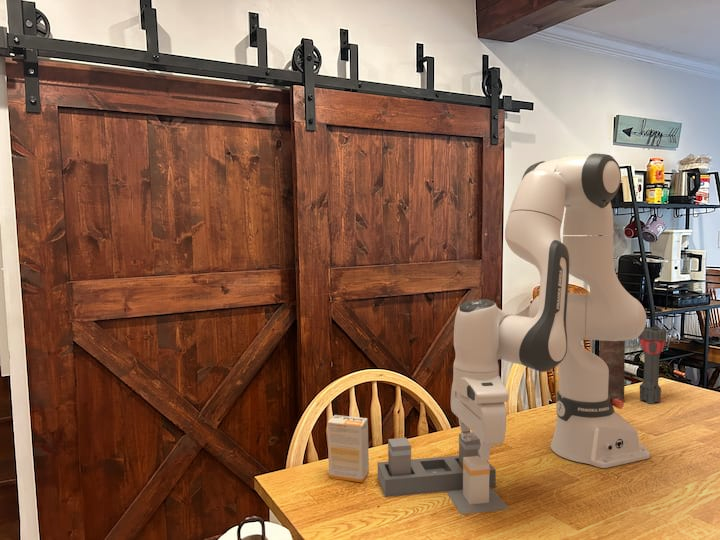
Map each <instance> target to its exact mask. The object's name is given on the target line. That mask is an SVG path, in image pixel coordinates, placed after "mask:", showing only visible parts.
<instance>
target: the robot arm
mask: <svg viewBox="0 0 720 540" xmlns="http://www.w3.org/2000/svg"><path fill="white" fill-rule="evenodd" d="M621 182H622V171H621V167H620V165H619V163H618V161H617V160H616V159H615V158H614V156H612V155H609V154H607V153H606V154H605V153H591V154H577V155H567V156H564V157H560V158H554V159H551V160H547V161H544V160H543V161H537V162H536V163H533V164H532V165H530V166H528V168H526V170H525V171H524V174H523V175H522V177H521V181H520V183H519V185H518V188H517V190H516V192H515V195H514V197H513V200H512V203H511V206H510V209H509V213H508V216H507V220H506V224H505V229H504V239H505V242H506V245H507V246H508V248H509V250H511V251H512V253H513V254H514V255H516V256H518V257H519V258H521V259H522V260H524V261H526V262H528V263H530V264H531V265H533V266H535V268H536V269H537V270H538V273H539V277H540V281H539V292H538V295H537V296H536V297H535V298H534V299H533V300H532V302H531V303H530V306H529V310H528V316H522V315H516V314H512V313H509V312H506V311H504V310H502V309H500V308H499V307H498V306H497V304H496V302H495V301H493V300H490V299H485V298H484V299H483V298H478V299H471V300H467V301H464V302H463V303H461V304H460V305H459V306H458V308H457V310H456V314H455V317H454V319H455V320H454V325H453V328H454V329H453V347H454V352H455V359H454V361H453V373H452V374H453V376H452V378H453V379H452V383H451V390H450V391H451V392H450V409H451V410H450V411H451V412H452V414H454V415H455V416H456V417H457V418H458V424H459V430H460V433H461V438H462V439H463V440H464V441H465V442H467V441H471V436H472V432H473V433H474V434H475V435H476V436H477V437H478V438H479V439H480V443H481V447H480V449H478V457H479V458H480V459H481V460H482V461H490V458H491V457H490V456H491V451H492V449H493V446H497V445H502V444H503V443H504V442H505V438H506V430H507V407H506V404H505V403H508V402H509V398H510V397H509V395H510V394H509V392H508V390H507V388H506V387H505V385H504V384H503V381H502V379H501V376H500V373H499V371H500V369H499V367H500V366H499V361H498V360H502V361H505V362H508V363H509V362H510V363H513V364H517V365H522V366H524V367H527V368H529V369H531V370H535V371H537V372H540V373H546V372H548V371H551V370H552V369H554V368H556V367H557V368H558V391H557V392H556V405H555V406H556V415H557V416H556V422H555V429H554V432H553V433H554V434H553V437H552V440H551V443H550V445H549V446H550V449H551V451H552V452H554V453H555V454H556V455H558V456H559V457H562V458H564V459H566V460H570V461H573V462H576V463H581V464H582V463H583V464H588V465H591V466H594V467H596V468H601V469H606V468H607V469H608V468H612V467H616V466H621V465H626V464H629V463H634V462H638V461H643V460H648V459H650V458H651V455H650V451H649V449H647V448H646V447H645V445H643V444H642V443H640V438H639V433H638V431H637V429H636V428H635V426H634V425H633V424H631V423H630V422H629V421H627V420H626V419H625V418H623V416H622V415H620V414H619V413H617V411H615V409H614V407H615V408H617V409H618V410H621V409H623V408H624V407H625V402H623V401H620V400H619V399H614V400H613V398H612V397H610V396H608V381H609V369H608V366H607V364H606V363H605V361H604V360H602V359H601V358H600V357H599V355H597V354H595V353H593V352H591V351H589V350H588V349H586V348H585V347H584V346H583V345H582V342H581V341H583V340H589V341H591V340H592V341H599V340H603V341H624V340H625V341H631V340H636V339H638V337H639V336H640V335H641V333H642V332H643V330H644V328H645V326H647V314H646V310H645V308H644V306H643V305H642V303H641V302H640V301H639V300H638V298H635V297H634V296H633V295H631V294H630V292H628V291H627V290H626V289H625V287H624V286H623V285H622V283H621V281H620V280H619V278H618V276H617V272H616V269H615V263H614V262H615V260H614V218H613V217H614V216H613V215H614V214H613V208H612V202H611V201H612V200H613V199H614V198H615V196H616V195H617V193H618V191H619V190H620V187H621ZM563 219H564V220H563ZM562 223H563V227H562ZM561 228H562V239H561ZM570 276H572V277H574V278H576V279H578V280H579V281H582V282H584V283H586V285H588V286H589V289H590V291H589V292H588V293H579V292H578V293H576V292H569V283H570V282H569V281H570Z"/></svg>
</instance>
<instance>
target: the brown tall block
mask: <svg viewBox="0 0 720 540" xmlns="http://www.w3.org/2000/svg"><path fill="white" fill-rule="evenodd" d="M625 341H626V340H624V341H603V340H598V342H599V344H598V351H599V352H598V357H600V358H601V359H602V360H604V361H605V363H606V364H607V366H608V369H609V381H608V396H610V397H612V398H613V400H614V399H619V400H620V401H623V403H625V358H626V357H625V356H626V355H625V354H626V353H625V350H626V347H625V345H626V343H625Z"/></svg>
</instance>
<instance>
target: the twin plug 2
mask: <svg viewBox="0 0 720 540" xmlns="http://www.w3.org/2000/svg"><path fill="white" fill-rule="evenodd" d="M471 433H472V436H471V441H467V442H465V441H464V440H463V439H462V438H461V432H459V433H458V455H459V465H460V466H461V468H462V469H463V457H471V456H478V449H480V447H481V443H480V439H479V438H478V437H477V436H476V435H475V434H474V433H473V432H472V431H471Z"/></svg>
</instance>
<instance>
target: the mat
mask: <svg viewBox="0 0 720 540" xmlns="http://www.w3.org/2000/svg"><path fill="white" fill-rule="evenodd" d="M445 492H446V493H447V495H448V497H449V498H450V500H451V501H452V504H453V505H454V506H455V508H456V509H457V511H458V512H459V514H460V515H466V514H467V515H470V514H471V515H472V514H479V513H490V512H497V511H498V512H500V511H507V510H508V511H509V510H510V507H508V505H507V503H505V502H504V500H503V499H502V498H501V497H500V495H499V494H498V493H497V492H496V491H495V489H493V487H489V503H481V504H471V505H470V504H469V502H468V501H467V500H466V498H465V497H464V495H463V489H460V490H450V491H445Z"/></svg>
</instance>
